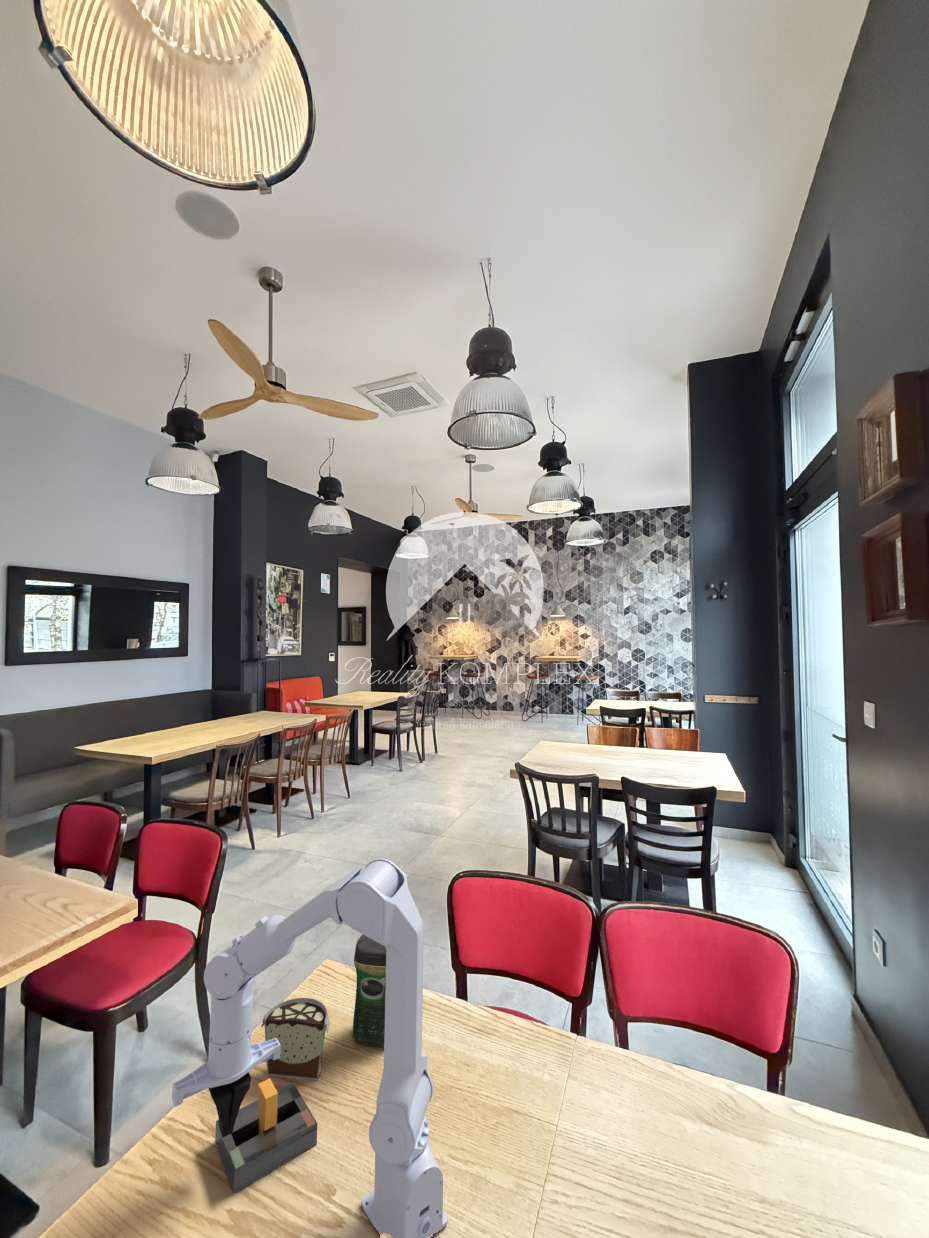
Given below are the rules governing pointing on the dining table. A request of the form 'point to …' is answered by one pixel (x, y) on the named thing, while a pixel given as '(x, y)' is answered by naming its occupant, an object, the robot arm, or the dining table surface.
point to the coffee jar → (369, 992)
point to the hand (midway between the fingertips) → (226, 1130)
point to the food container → (297, 1037)
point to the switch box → (266, 1139)
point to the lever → (267, 1105)
